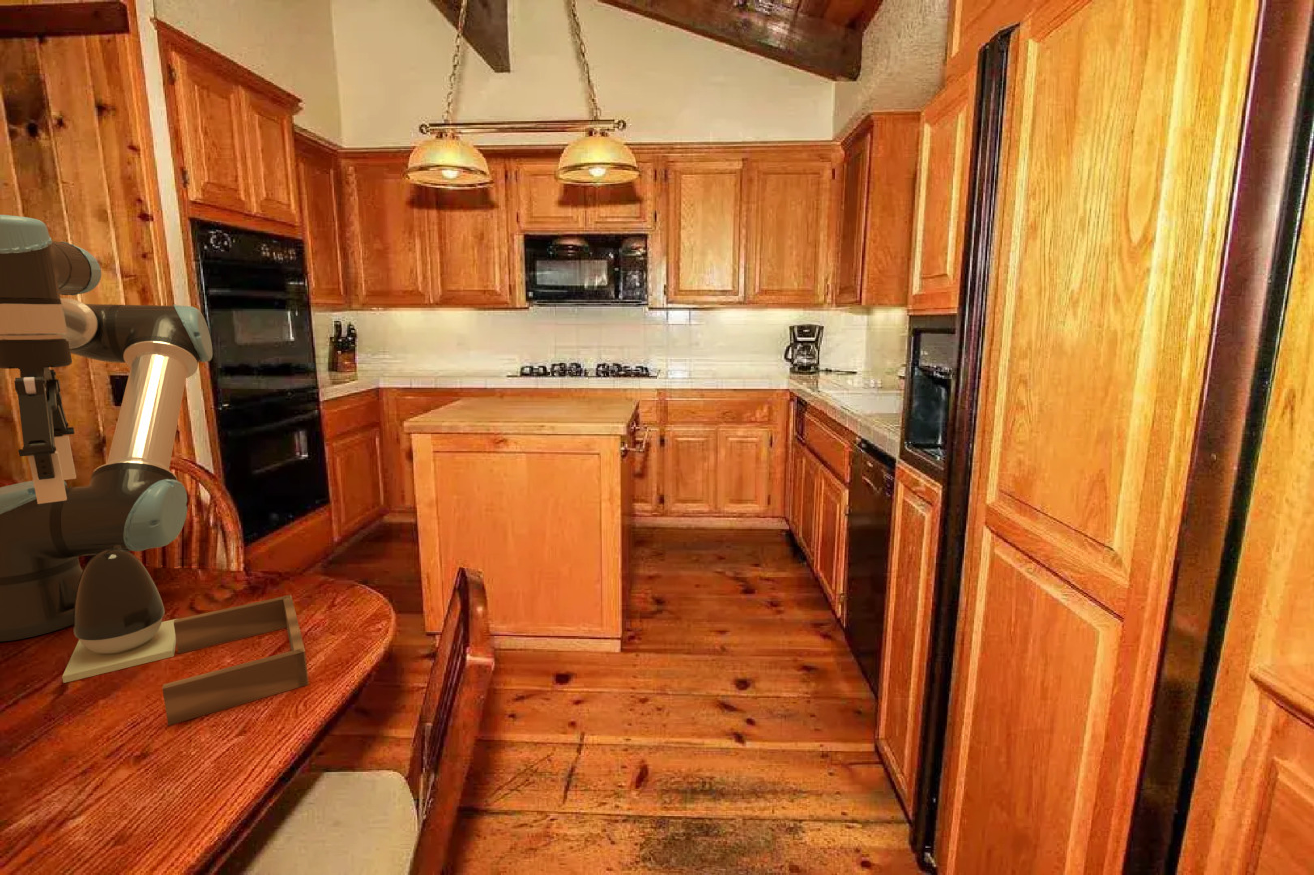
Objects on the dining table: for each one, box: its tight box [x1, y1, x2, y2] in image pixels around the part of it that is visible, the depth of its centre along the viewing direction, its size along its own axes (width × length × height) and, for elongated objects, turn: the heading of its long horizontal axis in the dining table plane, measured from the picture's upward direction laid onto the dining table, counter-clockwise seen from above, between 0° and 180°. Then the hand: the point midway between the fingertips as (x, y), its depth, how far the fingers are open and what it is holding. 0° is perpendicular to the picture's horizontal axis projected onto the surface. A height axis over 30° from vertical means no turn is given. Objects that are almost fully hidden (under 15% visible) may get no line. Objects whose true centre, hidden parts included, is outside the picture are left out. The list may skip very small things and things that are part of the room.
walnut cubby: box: [162, 594, 310, 726], centre depth 87 cm, size 21×15×5 cm
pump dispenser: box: [72, 545, 165, 654], centre depth 90 cm, size 10×10×15 cm
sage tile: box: [61, 618, 177, 684], centre depth 91 cm, size 12×12×1 cm
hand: (58, 490), depth 85 cm, fingers open, 13 cm apart
